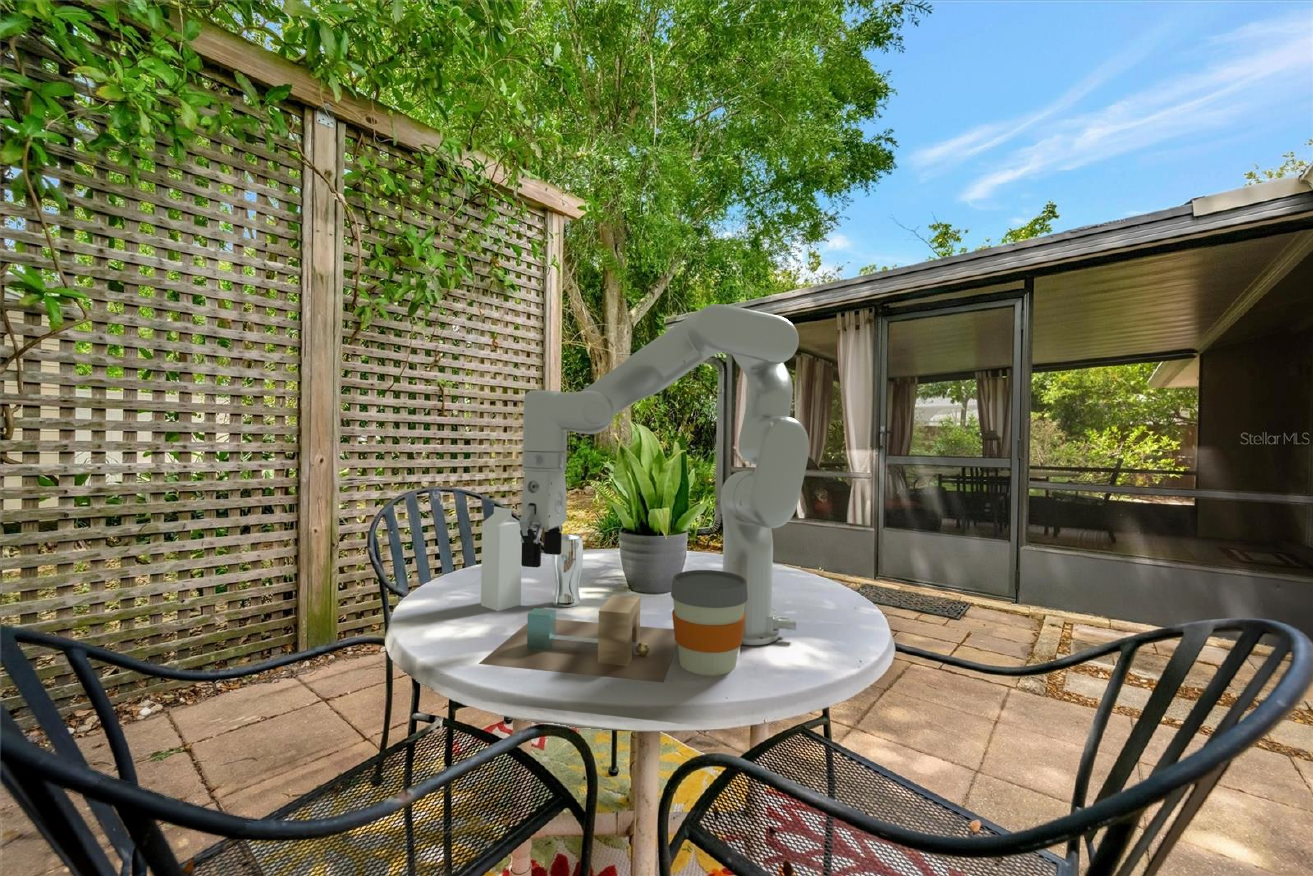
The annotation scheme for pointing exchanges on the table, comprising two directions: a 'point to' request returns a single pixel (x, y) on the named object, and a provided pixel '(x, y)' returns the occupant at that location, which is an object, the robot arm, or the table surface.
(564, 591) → the beer glass
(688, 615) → the reusable coffee cup
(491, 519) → the milk
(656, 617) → the table surface
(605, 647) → the wooden toy block
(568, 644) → the hook rod
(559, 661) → the board
